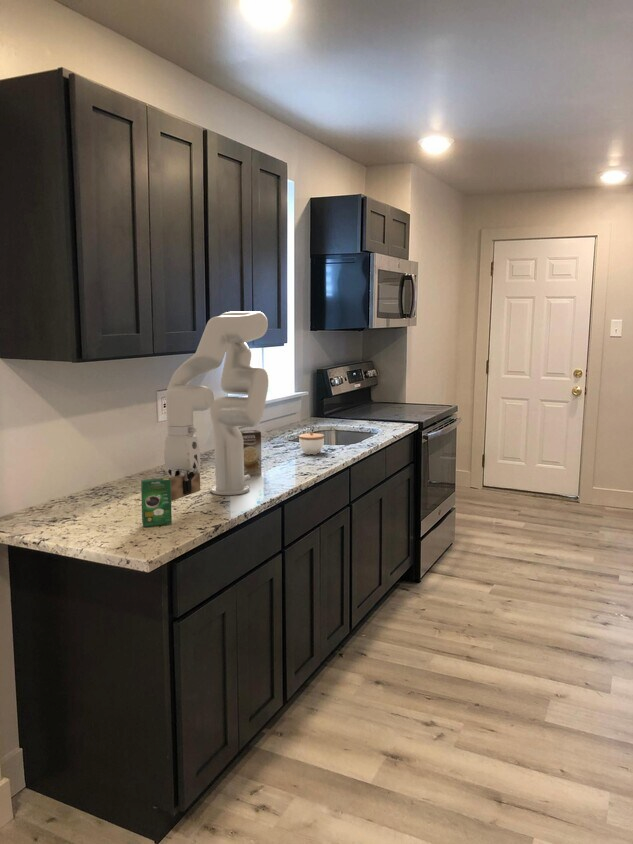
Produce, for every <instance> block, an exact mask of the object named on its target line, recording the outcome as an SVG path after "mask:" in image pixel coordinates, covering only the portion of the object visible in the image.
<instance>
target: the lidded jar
mask: <svg viewBox="0 0 633 844" xmlns="http://www.w3.org/2000/svg"><path fill="white" fill-rule="evenodd" d="M298 439H299V441H298V442H299V447H300V450H301V451H302V452H303V453H304V454H305V455H310V454H313V455H318V454H317V453H319V454H320V452H321V451H322V450H323V447H324V443H325V434H323V433H317V432H316V433H315V432H314V431H310V433H308V432H307V433H301V434H299V435H298Z"/></svg>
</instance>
